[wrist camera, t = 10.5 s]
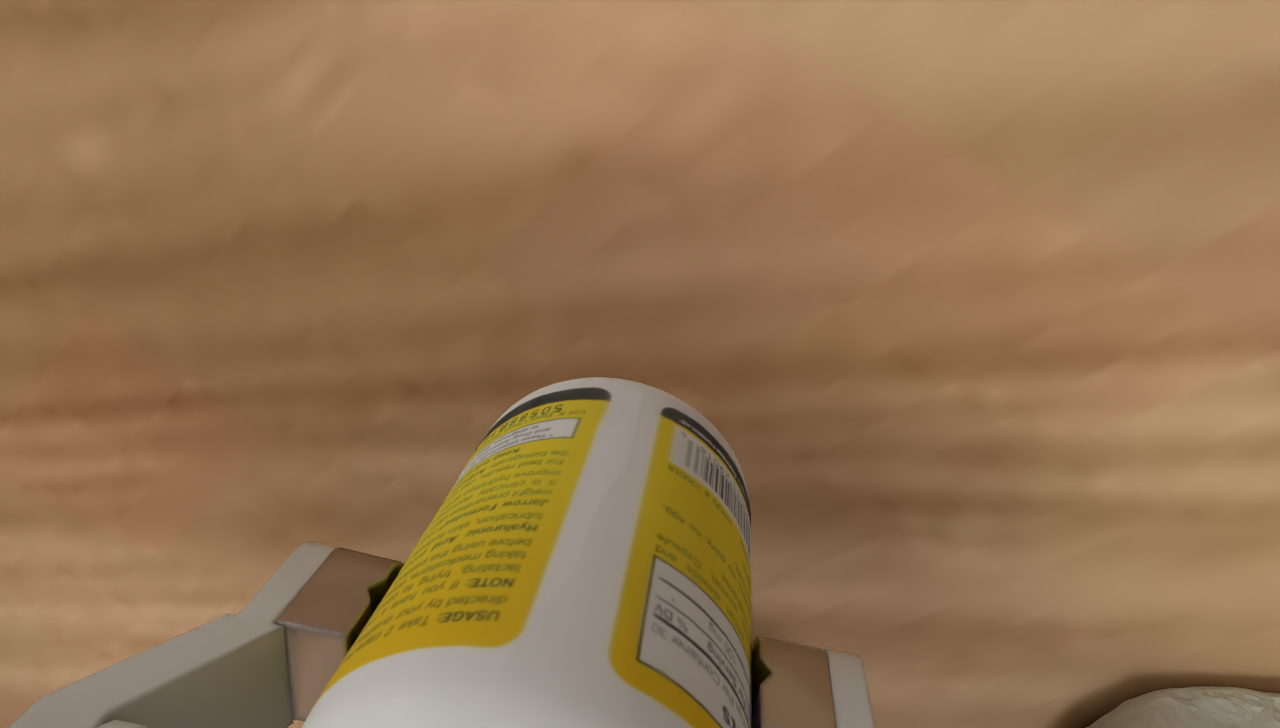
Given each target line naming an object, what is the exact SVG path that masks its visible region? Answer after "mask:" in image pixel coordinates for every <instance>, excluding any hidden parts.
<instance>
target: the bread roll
mask: <svg viewBox="0 0 1280 728" xmlns="http://www.w3.org/2000/svg"><path fill="white" fill-rule="evenodd" d="M1086 728H1280V693H1266V692H1259V691H1255V690H1250V689H1245V688H1236V687H1185V688H1169V689H1162V690H1156V691H1152V692H1149V693H1146V694H1143V695H1141V696H1138V697H1135V698H1132V699H1129V700H1126V701H1124V702H1123V703H1121V704H1120V705H1119V706H1118V707H1117V708H1115V709H1113V710H1112V711H1110V712H1109V713H1107V714H1105V715H1104V716H1102V717H1100V718H1099V719H1098V720H1097V721H1095V722H1094V723H1093V724H1091V725H1090V726H1088V727H1086Z"/></svg>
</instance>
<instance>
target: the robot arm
mask: <svg viewBox="0 0 1280 728" xmlns="http://www.w3.org/2000/svg"><path fill="white" fill-rule="evenodd" d="M403 566H404V564H403V563H401V562H400V561H395V560H391V559H387V558H383V557H378V556H374V555H370V554H366V553H361V552H357V551H353V550H349V549H344V548H337V547H333V546H329V545H324V544H320V543H316V542H312V541H308V542H306V543H304V544H302V545H300V546H299V547H298V548H297V549H296V550H295V551H294V552H293V553H292V554H291V556H290V557H289V558H288V559H287V560H286V561H285V562H284V564H283V565H282V566H281V567H280V568H279V569H278V570H277V571H276V573H275V574H274V575H273V576H272V577H271V578H270V579H269V581H268V582H267V583H266V584H265V585H264V586H263V587H262V588H261V590H260V591H259V592H258V593H257V594H256V595H255V596H254V597H253V599H252V600H251V601H250V602H249V603H248V604H247V605H246V607H245V608H244V609H243V610H242V611H241V612H240V613H239V614H238V616H237V615H231V614H226V615H224V616H222V617H220V618H217V619H215V620H213V621H211V622H208V623H206V624H204V625H202V626H200V627H197V628H195V629H193V630H191V631H188V632H186V633H184V634H182V635H179V636H177V637H175V638H173V639H171V640H168V641H166V642H164V643H162V644H159V645H157V646H155V647H153V648H150V649H148V650H146V651H144V652H142V653H139V654H137V655H135V656H133V657H130V658H128V659H126V660H124V661H121V662H119V663H117V664H115V665H113V666H110V667H108V668H106V669H104V670H101V671H99V672H97V673H95V674H92V675H90V676H88V677H86V678H84V679H81V680H79V681H77V682H75V683H72V684H70V685H68V686H66V687H63V688H61V689H59V690H57V691H55V692H52V693H50V694H48V695H46V696H43V697H41V698H40V699H38V700H37V701H36V702H35V703H34V704H33V705H32V706H31V707H30V708H29V709H28V710H27V711H26V712H25V713H23V714H22V715H21V716H20V717H19V718H18V719H17V720H16V721H15V722H14V723H13V724H12V725H11V726H10V727H8V728H287V727H288V726H290V725H291V724H292V723H293V719H295V720H300V721H306V719H307V718H308V716H309V714H310V712H311V710H312V708H313V706H314V705H315V703H316V701H317V700H318V698H319V697H320V695H321V694H322V692H323V690H324V689H325V687H326V686H327V684H328V683H329V681H330V680H331V678H332V677H333V675H334V673H335V672H336V670H337V669H338V667H339V666H340V664H341V663H342V661H343V660H344V658H345V656H346V655H347V653H348V651H349V650H350V649H351V647H352V646H353V644H354V643H355V641H356V640H357V638H358V636H359V635H360V633H361V632H362V630H363V629H364V627H365V625H366V624H367V622H368V621H369V619H370V618H371V616H372V615H373V613H374V612H375V610H376V609H377V607H378V606H379V604H380V603H381V601H382V599H383V598H384V596H385V595H386V593H387V591H388V590H389V588H390V587H391V585H392V584H393V582H394V580H395V579H396V577H397V576H398V574H399V572H400V570H401V569H402V567H403ZM751 683H752V702H751V706H752V728H875V725H874V719H873V714H872V709H871V703H870V698H869V692H868V687H867V681H866V676H865V671H864V665H863V661H862V660H861V658H860V657H859V656H858V655H853V654H848V653H843V652H837V651H832V650H827V649H825V650H823V649H821V648H816V647H811V646H806V645H801V644H796V643H791V642H786V641H781V640H776V639H771V638H766V637H761V636H757V637H756V639H755V641H754V644H753V647H752V664H751Z"/></svg>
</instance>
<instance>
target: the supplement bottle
mask: <svg viewBox="0 0 1280 728" xmlns="http://www.w3.org/2000/svg"><path fill="white" fill-rule="evenodd" d="M751 608H752V604H751V511H750V504H749V496H748V489H747V485H746V481H745V477H744V474H743V472H742V469H741V466H740V464H739V461H738V460H737V458H736V456H735V454H734V452H733V450H732V448H731V447H730V445H729V444H728V443H727V441H726V440H725V438H724V437H723V436H722V435H721V433H720V432H719V431H718V430H717V428H716V427H715V426H714V425H713V424H712V423H711V422H710V421H709V420H708V419H707V418H706V417H705V416H704V415H702V414H701V413H700V412H698V411H697V410H696V409H694V408H693V407H691V406H690V405H688V404H687V403H685V402H684V401H682V400H680V399H679V398H677V397H675V396H673V395H671V394H669V393H667V392H665V391H662V390H660V389H658V388H655V387H652V386H649V385H646V384H643V383H639V382H634V381H630V380H624V379H617V378H604V377H593V378H580V379H573V380H568V381H563V382H559V383H555V384H552V385H549V386H546V387H543V388H541V389H539V390H537V391H534V392H532V393H530V394H529V395H527V396H525V397H524V398H522V399H521V400H519V401H518V402H516V403H515V404H514V405H513V406H512V407H510V408H509V409H508V410H507V411H506V412H505V413H504V414H503V415H502V416H501V417H500V418H499V419H498V420H497V421H496V422H495V424H494V425H493V426H492V427H491V428H490V430H489V431H488V432H487V434H486V435H485V437H484V438H483V440H482V441H481V443H480V444H479V446H478V447H477V449H476V450H475V452H474V454H473V455H472V457H471V458H470V460H469V461H468V463H467V464H466V466H465V468H464V469H463V471H462V473H461V474H460V476H459V478H458V479H457V481H456V483H455V484H454V486H453V488H452V489H451V491H450V493H449V494H448V496H447V498H446V499H445V501H444V502H443V504H442V506H441V507H440V509H439V511H438V512H437V513H436V515H435V516H434V518H433V520H432V522H431V523H430V525H429V526H428V528H427V529H426V531H425V532H424V534H423V536H422V537H421V539H420V541H419V542H418V544H417V546H416V547H415V549H414V550H413V552H412V553H411V555H410V557H409V558H408V560H407V561H406V563H405V564H404V566H403V567H402V569H401V570H400V572H399V574H398V576H397V577H396V579H395V580H394V582H393V584H392V585H391V587H390V588H389V590H388V591H387V593H386V595H385V596H384V598H383V599H382V601H381V603H380V604H379V606H378V607H377V609H376V610H375V612H374V613H373V615H372V616H371V618H370V619H369V621H368V622H367V624H366V625H365V627H364V629H363V630H362V632H361V633H360V635H359V636H358V638H357V640H356V641H355V643H354V644H353V646H352V647H351V649H350V650H349V651H348V653H347V655H346V656H345V658H344V660H343V661H342V663H341V664H340V666H339V667H338V669H337V670H336V672H335V673H334V675H333V677H332V678H331V680H330V681H329V683H328V684H327V686H326V687H325V689H324V690H323V692H322V694H321V695H320V697H319V698H318V700H317V701H316V703H315V705H314V706H313V708H312V710H311V712H310V714H309V716H308V718H307V719H306V721H305V723H304V725H303V727H302V728H752V706H751V702H752V683H751V664H752V641H751Z"/></svg>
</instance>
